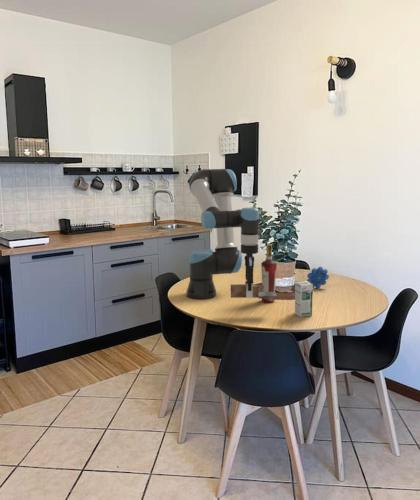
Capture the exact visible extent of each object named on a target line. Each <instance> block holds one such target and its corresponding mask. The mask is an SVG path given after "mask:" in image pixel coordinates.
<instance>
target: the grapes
mask: <svg viewBox="0 0 420 500" xmlns="http://www.w3.org/2000/svg"><path fill="white" fill-rule="evenodd" d="M328 272H329V271H328V269H326V268H325V269H324V267H322V266H319V267H317V268H315V267H313V268H312V269H311V272H309V273H307V276H306V277H307V279H306V281H307V282H310V283H312V284H313V289H314V288H315V289H320V288H321V286H325V285H326V284H327V280H329V278H330V277H329V274H328Z"/></svg>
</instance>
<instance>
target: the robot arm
mask: <svg viewBox="0 0 420 500" xmlns="http://www.w3.org/2000/svg"><path fill="white" fill-rule="evenodd" d="M237 183H238V182H237V177H236V174H235V172H234V171H233V170H232V169H228V168H218V169H217V168H213V169H211V168H208V169H205V168H204V169H200V170H198V171H196V172H195V173H194V174H192V176H191V178H190V180H189V190H190V192H191V193H192V195H193V196H194V197H195V198H196V200H197V203H198V205H199V207H200V210H201V211H202V213H201V215H200V216H201V217H200V220H201V221H200V222H201V226H202V228H204V229H210V230H211V229H213V230H214V229H216V240H217V241H216V242H217V243H216V244H217V245H216V246H215V247H214V251H213V249H212V248H201V249H196V250H193V251H192V252H190V254H189V261H188V262H189V282H188V286H187V288H186V296H187V297H188V298H190V299H195V300H209V299H212V298H215V297H216V296H217V290H216V289H217V288H216V286H215V283H214V280H213V279H214V277H213V276H214V275H228V274H229V275H230V274H236V273H238V272H240V270H241V268H242V264H243V255H244V254H245V256H244V265H245V275H244V277H245V284H246V298H245V299H248V298H249V299H251V298H252V299H254V298H253V284H254V265H255V263H254V262H255V257H254V255H255V254H258V253H259V244H258V243H259V239H260V238H261V237H260V235H259V226H260V222H259V221H260V215H259V214H260V213H259V209H258V208H257V207H252V206H251V207H243V208H241V209H236V210H232V197H233V196H234V192H236V191H237V189H238V188H237V185H238V184H237ZM234 228H240V250H239V249H238V246H237V244H235V238H234V237H235V235H234Z"/></svg>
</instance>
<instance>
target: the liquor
mask: <svg viewBox="0 0 420 500" xmlns="http://www.w3.org/2000/svg"><path fill="white" fill-rule="evenodd" d="M265 249H266V256H265V260H264V261H262V262H261V265H260V266H261V290H262V291H261V292H276V278H277V267H278V266H277V262H276V261H275V260H273V256H272V255H273V254H272V253H273V251H272V250H273V244H272V243H271V244H270V243H268V244H266V248H265ZM261 300H262V301H263V302H264V303H267V304H268V303H273V302H274V301H275V300H276V299H261Z"/></svg>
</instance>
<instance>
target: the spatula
mask: <svg viewBox="0 0 420 500" xmlns="http://www.w3.org/2000/svg"><path fill="white" fill-rule="evenodd" d="M231 298H236V299H241V298H243V299H244V298H245V299H247V298H246V284H243V283H241V284H239V283H238V284H236V283H235V284H233V283H232V284H230V299H231ZM254 298H257V299H258V300H259V299H261V300H262V299H275V300H277V299H278V296H277V292H276V291H275V292H262V291H259V284H256V283H255V284H254V283H253V298H252V299H254Z"/></svg>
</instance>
